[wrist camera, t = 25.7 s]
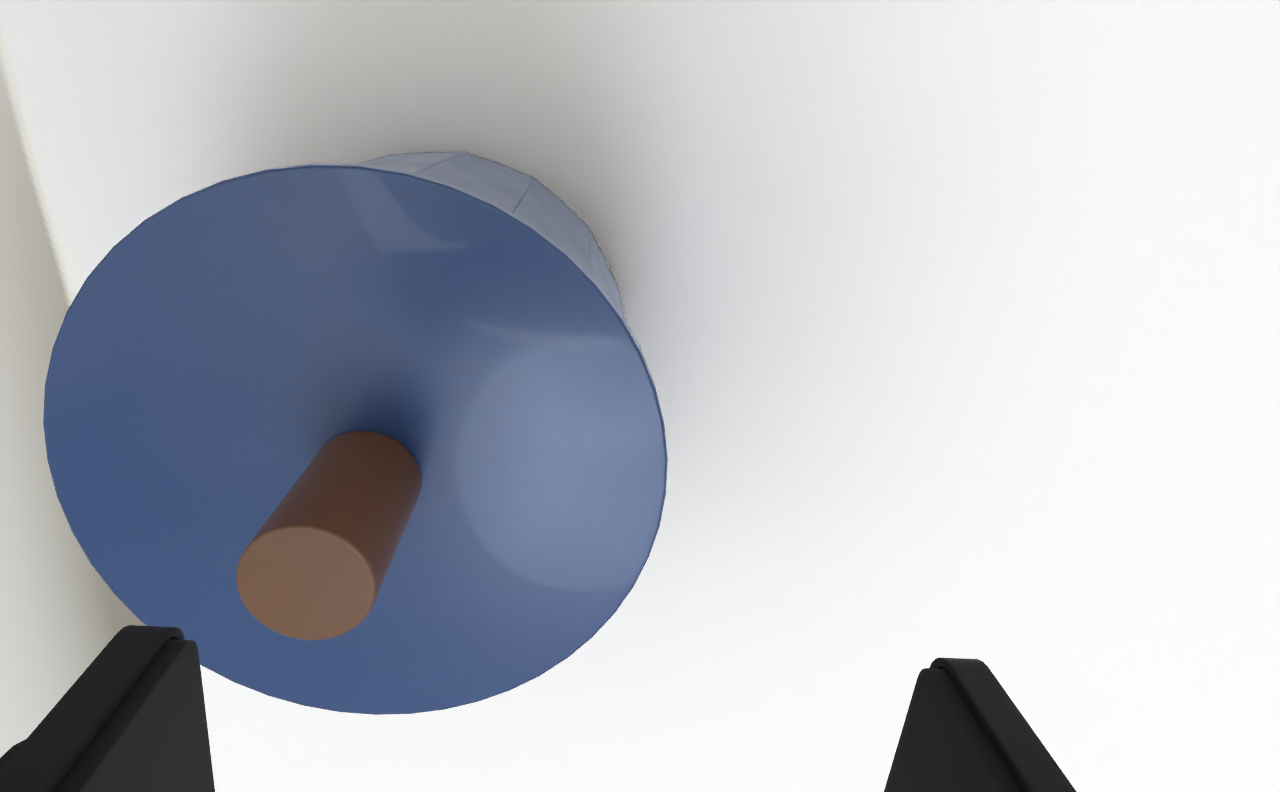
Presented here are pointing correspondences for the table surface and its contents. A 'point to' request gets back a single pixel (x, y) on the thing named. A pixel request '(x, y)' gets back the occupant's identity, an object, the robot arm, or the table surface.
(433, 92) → the table surface
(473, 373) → the tin lid
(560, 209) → the tin
